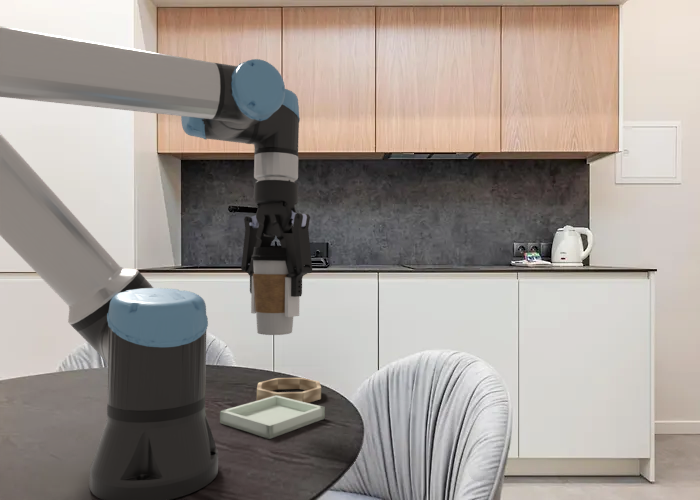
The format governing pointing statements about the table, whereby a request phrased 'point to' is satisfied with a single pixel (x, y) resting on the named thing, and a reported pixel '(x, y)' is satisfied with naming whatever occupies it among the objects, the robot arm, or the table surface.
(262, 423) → the tray
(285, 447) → the table surface
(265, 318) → the coffee cup
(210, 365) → the table surface
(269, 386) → the holder ring
